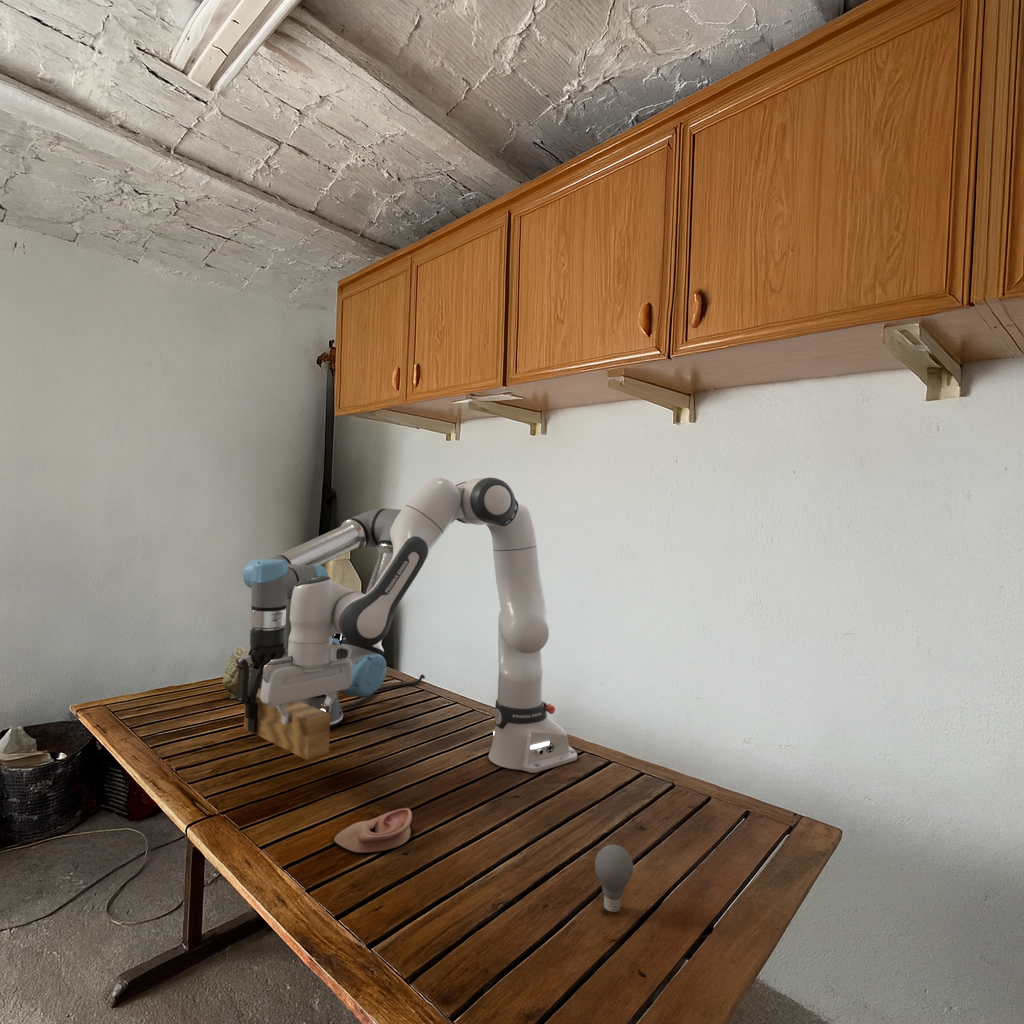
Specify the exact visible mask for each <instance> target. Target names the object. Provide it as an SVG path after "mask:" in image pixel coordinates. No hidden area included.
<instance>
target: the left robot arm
mask: <svg viewBox="0 0 1024 1024" xmlns="http://www.w3.org/2000/svg"><path fill="white" fill-rule="evenodd" d="M401 510H402V509H397V508H395V509H394V508H382V507H381V508H375V509H370V510H367V511H366V512H365V511H364V512H362V513H360V514H357V515H355V516H353V517H350V518H348V519H346V520H344V521H343V522H341V525H340V526H338V527H337V528H334V529H332V530H330V531H328V532H326V533H324V534H321V535H319V536H317V537H314V538H312V539H311V540H308V541H306V542H304V543H301V544H299V545H297V546H295V547H293V548H291V549H289V550H286V551H284V552H281V553H279V554H277V555H274V556H273V557H271V558H263V559H253V560H251V561H249V562H247V564H246V565H245V566H244V569H243V572H242V579H243V582H244V584H245V585H246V586H247V587H248V588H250V589H251V604H250V605H251V606H250V607H251V609H250V622H249V623H250V627H251V629H250V630H249V646H250V651H249V653H248V655H247V656H245V657H243V658H238V659H237V660H236V662H237V665H238V668H239V669H238V686H237V698H236V701H237V702H239V703H241V704H243V705H244V712H245V717H246V718H248V730H247V731H248V732H250V733H252V734H254V733H257V719H258V704H257V703H255V700H256V696H257V693H258V689H259V685H260V682H261V678H262V675H263V669H264V667H265V666H266V664H267V663H269V662H270V661H271V660H273V659H280V658H284V657H288V648H287V649H286V647H285V643H286V628H285V626H286V624H287V623H286V621H287V619H286V618H287V616H286V615H287V604H288V603H287V601H288V600H291V598H292V593H293V589H294V587H295V585H296V584H297V583H298V582H299V581H300V580H302V579H305V578H308V577H313V576H328V577H330V576H329V573H328V570H327V569H326V568H325V566H323V565H325V564H327V563H329V562H332V561H333V560H335V559H338V558H339V557H341V556H343V555H345V554H347V553H350V552H351V551H354V552H358V551H361V550H363V549H365V548H376V549H377V551H378V553H379V555H378V556H379V557H378V559H377V561H376V564H375V566H374V569H373V572H372V575H371V577H370V581H369V583H368V585H367V589H366V592H365V594H367V593H368V592H370V591H371V589H372V588H373V587H374V585H375V584H376V582H377V581H378V579H379V578H380V576H381V575H382V573H383V572H384V570H385V569H386V567H387V566H388V564H389V563H390V561H391V559H392V556H393V544H392V542H391V538H390V529H391V527H392V525H393V523H394V521H395V519H396V517H397V516H398V514H399V513H400V511H401ZM382 641H383V639H382V640H381V641H380V642H379V643H377V644H375V645H373V646H370V647H357V646H354V645H352V644H351V643H349V642H348V641H347V640H346V639H345V637H343V638H342V640H341V643H340V640H339V639H338V638H335V637H332V643H335V644H338V645H342V646H345V647H347V648H350V649H351V657H350V658H348V659H350V660H351V663H352V683H351V685H350V687H349V688H348V689H345V690H341V691H337V692H336V698H335V699H334V701H333V703H332V705H331V712H330V713H329V714H330V730H332V729H335V728H337V727H339V726H340V725H342V723H343V722H344V713H343V710H345V709H349V708H353V707H356V706H358V705H360V704H364V703H365V702H366V701H368V700H369V699H371V698H372V697H373V696H374V695H375V694H376V693H378V692H381V691H384V690H389V689H395V688H400V687H401V688H402V687H409V686H415V685H419V684H420V683H421V682H422V680H424V679H426V676H425V675H424V674H423V673H422V674H420V676H419V678H418V679H417V680H415V681H410V682H402V683H396V684H390V685H385V686H382V684H383V683H384V681H385V678H386V675H387V667H386V666H387V661H386V659H385V657H384V653H385V650H384V648H383V646H382ZM250 661H252V662H253V666H252V674H251V678H250V681H249V666H250ZM269 665H271V664H269ZM258 668H259V669H258ZM248 683H249V685H248ZM338 694H343V695H347V696H349V697H353V698H355V697H357V698H361V699H359V700H357V701H355V702H352V703H348V704H344V705H341V702H340V699H339V695H338ZM326 697H327V695H325V694H324V695H320V696H316V697H312V698H307V699H303V700H299V701H300V702H302V703H305V704H307V705H310V706H312V707H315V708H317V709H319V710H320V709H321V704H324V702H325V700H326Z"/></svg>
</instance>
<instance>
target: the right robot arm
mask: <svg viewBox="0 0 1024 1024" xmlns="http://www.w3.org/2000/svg"><path fill="white" fill-rule="evenodd" d="M400 510H401V511H400V513H399V514H398V516H397V517H396V519H395V521H394V523H393V525H392V527H391V529H390V538H391V542H392V544H393V556H392V559H391V561H390V563H389V564H388V566H387V567H386V569H385V570H384V572H383V573H382V575H381V576H380V578H379V579H378V581H377V582H376V584H375V585H374V587H373V588H372V589H371V591H370V592H368V593H367V594H366V593H363V592H361V591H358V590H355V589H352V588H349V587H346V586H344V585H343V584H341V583H339V582H337V581H335V580H334V579H332V577H331V576H329V575H328V576H329V577H328V576H313V577H308V578H305V579H302V580H300V581H299V582H298V583H297V584H296V585H295V587H294V589H293V593H292V598H291V599H290V606H289V623H290V632H289V635H288V644H287V649H288V657H282V658H280V659H273V660H271V661H270V662H269V663H267V664H266V666H265V667H264V669H263V681H262V686H261V693H260V700H261V701H262V703H263V704H265V705H267V706H270V707H274V706H277V708H278V710H279V712H280V714H281V722H282V723H283V724H288V723H291V722H292V714H289V713H288V712H287V710H286V708H288V703H290V702H295V701H299V700H303V699H307V698H312V697H316V696H320V695H324V694H325V695H327V697H326V700H325V702H324V704H321V709H320V710H322V711H324V712H327V713H330V712H331V705H332V703H333V701H334V699H335V698H336V692H337V691H341V690H345V689H348V688H349V687H350V685H351V683H352V663H351V660H350V659H348V658H350V657H351V649H350V648H347V647H345V646H342V645H341V644H340V645H338V644H335V643H332V638H333V636H334V635H337V634H338V635H339V634H341V635H342V636H343V638H345V639H346V640H347V641H348V642H349V643H351V644H352V645H354V646H357V647H370V646H373V645H375V644H377V643H379V642H380V641H381V640H382V641H383V640H384V639H385V637H386V636H387V634H388V633H389V631H390V628H391V625H392V621H393V618H394V614H395V612H396V610H397V608H398V606H399V604H400V603H401V601H402V599H403V598H404V596H405V594H406V593H407V591H409V588H410V587H411V585H412V584H413V582H414V581H415V579H416V577H417V576H418V575H419V573H420V571H421V569H422V568H423V566H424V564H425V562H426V560H427V559H428V557H429V555H430V554H431V552H432V551H433V549H434V548H435V546H436V545H437V543H438V542H439V541H440V539H441V538H442V537H443V535H444V534H445V532H446V531H448V528H449V527H450V525H452V524H453V523H454V522H455V521H457V522H460V523H462V524H467V525H475V526H479V525H480V526H482V525H486V527H487V528H488V530H489V532H490V535H491V540H492V541H491V542H492V552H493V553H492V554H493V564H494V565H493V566H494V572H495V573H494V574H495V575H494V576H495V582H496V588H497V593H498V601H499V608H500V611H499V614H498V619H497V620H498V621H497V654H498V655H497V656H498V658H497V659H498V675H497V676H498V677H497V698H496V700H495V705H494V725H495V726H494V731H493V732H492V733H493V738H492V741H491V742H492V743H491V746H490V749H489V751H488V755H487V756H488V757H487V758H488V760H489V761H490V762H491V763H493V764H494V765H497V766H499V767H502V768H504V769H505V768H506V769H511V770H518V771H524V772H527V773H532V774H533V773H534V774H535V773H539V772H542V771H543V772H544V771H545V770H549V769H552V768H556V767H559V766H563V765H565V764H568V763H573V762H575V761H577V760H578V753H577V750H575V749H574V748H573V747H572V746H570V745H569V739H568V735H567V732H566V730H565V729H563V727H562V726H560V725H559V724H558V723H557V722H556V721H555V720H553V719H552V718H551V717H550V716H548V714H550V715H552V714H554V713H555V712H556V707H555V705H552V704H551V703H546V702H545V701H544V700H542V699H543V698H542V697H543V675H544V674H543V673H544V670H543V669H544V668H543V660H542V649H543V648H544V647H545V646H546V644H547V643H548V640H549V637H550V625H549V619H548V611H547V605H546V600H545V595H544V588H543V585H542V584H543V583H542V579H541V571H540V570H541V569H540V561H539V551H538V550H539V549H538V540H537V534H536V530H535V529H536V528H535V524H534V520H533V517H532V514H531V511H530V509H529V508H528V507H527V506H525V505H524V504H521V503H519V502H518V500H517V499H516V497H515V494H514V491H513V490H512V488H511V486H510V485H509V484H508V483H506V481H504V480H502V479H500V478H496V477H478V478H477V477H476V478H473V479H471V480H468V481H462V482H459V483H457V484H454V483H453V482H452V481H450V480H449V479H445V478H442V477H434V478H431V479H430V480H429V481H428V482H425V484H424V485H423V486H422V487H421V488H420V489H419V490H418V491H417V492H415V493H414V495H413V496H412V497H410V499H409V500H408V501H407V502H406V503H405V505H404V506H403V507H402V508H401V509H400ZM269 664H271V665H269ZM337 693H338V692H337Z"/></svg>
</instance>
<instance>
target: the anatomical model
mask: <svg viewBox="0 0 1024 1024" xmlns="http://www.w3.org/2000/svg"><path fill="white" fill-rule="evenodd" d="M412 819H413V813H412V811H411V809H410V808H408V807H404V808H398V809H395V810H392V811H388V812H385V813H384V814H380V815H379V816H377V817H374V818H372V819H369V820H362V821H358V822H354V823H353V824H351V825H348V826H347V827H346V828H344V829H341V831H340V832H338V833H337V834H336V835H335V837H334V839H333V840H334V842H335V843H336V844H337V845H338V846H339V847H341V848H343V849H346V850H348V851H350V852H353V853H359V854H364V853H376V852H383V851H387V850H391V849H395V848H398V847H399V846H402V845H404V844H405V843H406V842H408V841H409V840H410V838H411V833H412V831H411V827H410V825H411V824H412Z"/></svg>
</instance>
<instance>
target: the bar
mask: <svg viewBox="0 0 1024 1024" xmlns="http://www.w3.org/2000/svg"><path fill="white" fill-rule="evenodd" d="M260 693H261V689H258V693H257V696H256V700H255V703H257V704H258V719H257V733H253V734H254V735H256V736H258V737H260V738H262V739H264V740H265V741H268V742H270V743H272V744H274V745H276V746H278V747H279V748H282V749H284V750H286V751H288V752H290V753H291V754H294V755H296V756H298V757H299V758H301V759H304V760H306V761H310V760H313V759H316V758H319V757H322V756H324V755H329V754H330V733H331V729H330V714H329V713H327V712H324V711H322V710H319V709H317V708H315V707H312V706H310V705H307V704H305V703H302V702H300V701H295V702H290V703H288V708H286V710H287V712H288V713H289V714H292V722H291V723H288V724H283V723H282V722H281V714H280V712H279V710H278V708H277V706H274V707H270V706H267V705H265V704H263V703H262V701H261V700H260ZM243 729H244V730H246V731H248V718H246V717H245V711H244V715H243Z"/></svg>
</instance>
